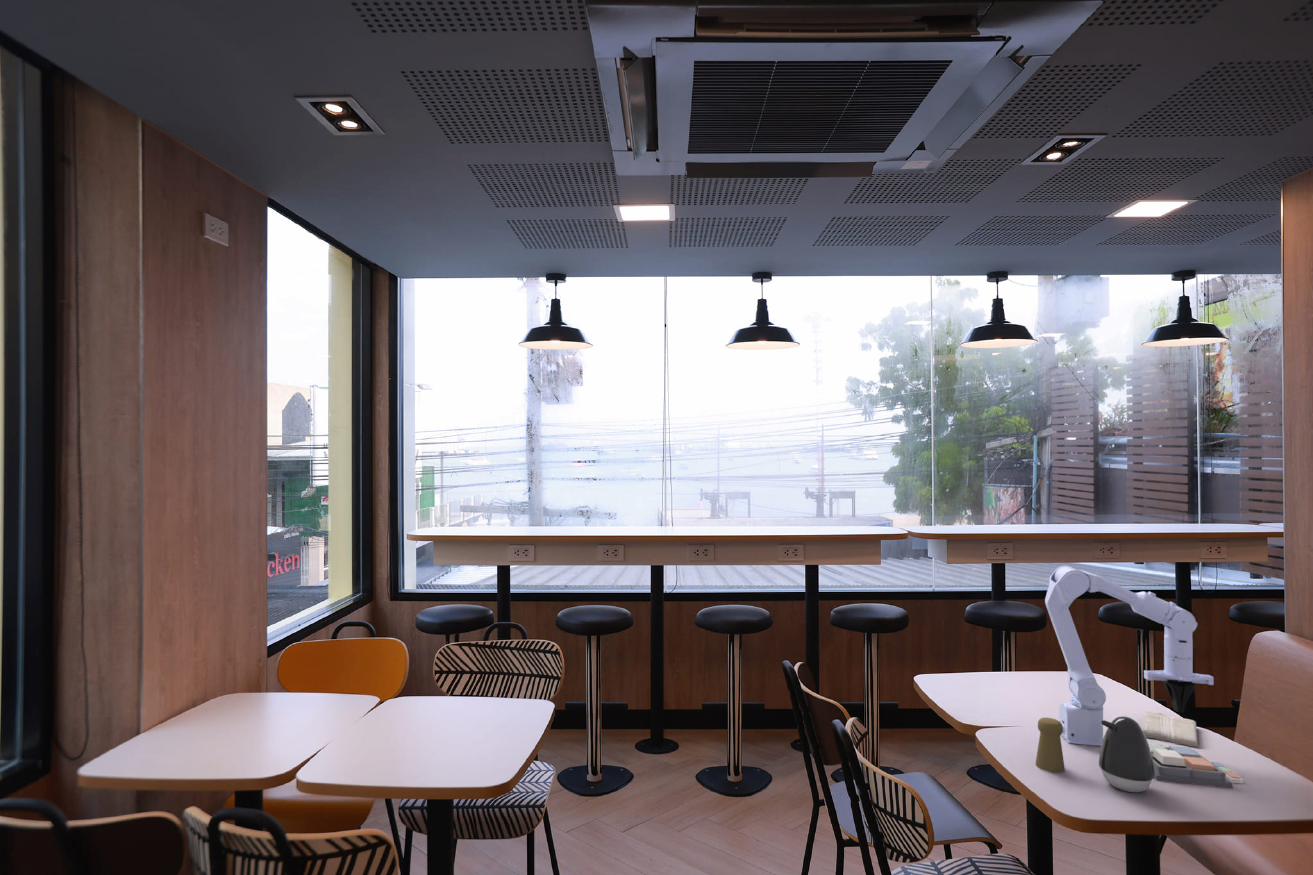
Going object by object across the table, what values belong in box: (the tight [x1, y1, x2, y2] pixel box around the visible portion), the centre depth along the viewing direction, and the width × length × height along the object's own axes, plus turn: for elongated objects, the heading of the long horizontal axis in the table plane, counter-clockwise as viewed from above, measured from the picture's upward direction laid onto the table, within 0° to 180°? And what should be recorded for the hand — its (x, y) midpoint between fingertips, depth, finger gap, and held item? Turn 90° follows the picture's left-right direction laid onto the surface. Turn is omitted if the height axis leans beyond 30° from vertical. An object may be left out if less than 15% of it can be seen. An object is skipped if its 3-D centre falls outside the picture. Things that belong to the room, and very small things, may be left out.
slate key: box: [1168, 745, 1201, 758], centre depth 166 cm, size 4×4×2 cm
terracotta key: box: [1182, 756, 1215, 771], centre depth 160 cm, size 4×4×2 cm
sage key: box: [1148, 743, 1167, 755], centre depth 167 cm, size 4×4×2 cm
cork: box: [1035, 717, 1066, 774], centre depth 164 cm, size 6×6×11 cm
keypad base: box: [1152, 746, 1234, 789], centre depth 164 cm, size 15×15×3 cm
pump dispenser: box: [1098, 715, 1155, 793], centre depth 154 cm, size 10×10×15 cm
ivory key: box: [1153, 749, 1185, 766], centre depth 162 cm, size 4×4×2 cm
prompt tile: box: [1210, 761, 1244, 784], centre depth 162 cm, size 2×9×1 cm, turn 168°
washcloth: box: [1141, 711, 1199, 748], centre depth 187 cm, size 12×18×3 cm, turn 145°
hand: (1178, 710), depth 175 cm, fingers closed
